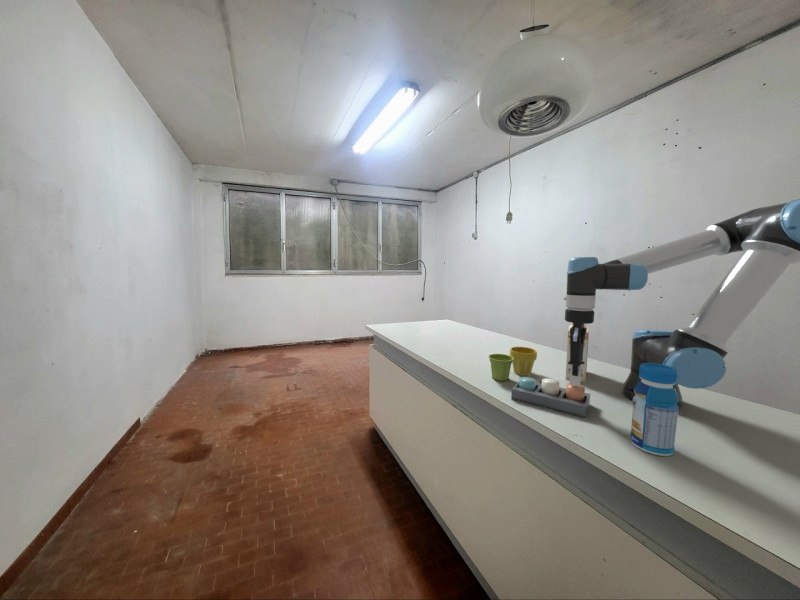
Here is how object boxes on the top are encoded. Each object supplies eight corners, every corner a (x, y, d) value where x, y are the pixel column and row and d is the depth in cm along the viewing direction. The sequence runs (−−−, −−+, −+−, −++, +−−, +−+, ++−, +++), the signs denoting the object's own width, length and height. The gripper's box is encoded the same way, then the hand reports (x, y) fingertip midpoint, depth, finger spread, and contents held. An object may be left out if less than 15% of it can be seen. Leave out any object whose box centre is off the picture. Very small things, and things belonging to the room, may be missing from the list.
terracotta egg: (585, 399, 93) (585, 385, 93) (582, 405, 89) (583, 390, 89) (566, 395, 96) (567, 382, 96) (564, 400, 92) (564, 386, 92)
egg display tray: (589, 404, 95) (590, 393, 95) (585, 418, 86) (585, 406, 86) (521, 388, 108) (521, 379, 108) (511, 399, 99) (511, 388, 99)
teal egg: (536, 391, 102) (537, 379, 101) (533, 396, 98) (533, 383, 97) (521, 388, 105) (522, 376, 104) (517, 393, 101) (517, 380, 100)
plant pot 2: (540, 377, 119) (541, 353, 118) (514, 377, 119) (515, 353, 118) (529, 368, 130) (530, 346, 128) (505, 368, 130) (506, 346, 129)
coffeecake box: (586, 382, 113) (589, 332, 111) (564, 379, 117) (567, 330, 115) (586, 371, 126) (588, 325, 124) (566, 368, 129) (569, 323, 127)
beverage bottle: (662, 461, 67) (670, 375, 65) (621, 441, 75) (627, 364, 73) (682, 452, 70) (690, 369, 68) (641, 434, 78) (647, 359, 76)
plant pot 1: (509, 374, 122) (510, 353, 121) (516, 383, 113) (516, 361, 112) (486, 373, 123) (486, 353, 122) (490, 382, 114) (491, 360, 113)
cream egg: (560, 393, 97) (560, 380, 97) (556, 399, 93) (557, 385, 93) (543, 389, 100) (543, 377, 100) (539, 394, 97) (540, 381, 96)
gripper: (569, 305, 97) (565, 376, 100) (561, 310, 87) (557, 388, 89) (596, 307, 93) (591, 381, 95) (592, 312, 82) (586, 394, 85)
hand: (574, 384), depth 92 cm, fingers closed
